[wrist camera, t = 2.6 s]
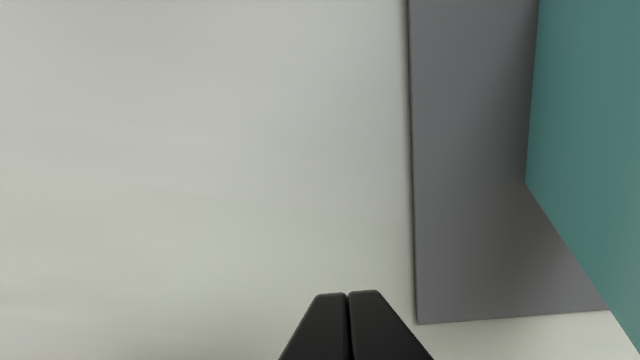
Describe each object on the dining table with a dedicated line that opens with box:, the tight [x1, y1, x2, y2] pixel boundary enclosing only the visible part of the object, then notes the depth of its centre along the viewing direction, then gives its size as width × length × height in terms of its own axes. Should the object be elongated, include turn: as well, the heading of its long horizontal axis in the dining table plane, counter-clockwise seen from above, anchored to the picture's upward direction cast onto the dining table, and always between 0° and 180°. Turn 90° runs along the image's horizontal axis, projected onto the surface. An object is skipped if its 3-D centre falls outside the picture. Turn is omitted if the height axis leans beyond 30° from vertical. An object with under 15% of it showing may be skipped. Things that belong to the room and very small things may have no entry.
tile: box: [525, 0, 640, 354], centre depth 11 cm, size 6×2×7 cm, turn 6°
